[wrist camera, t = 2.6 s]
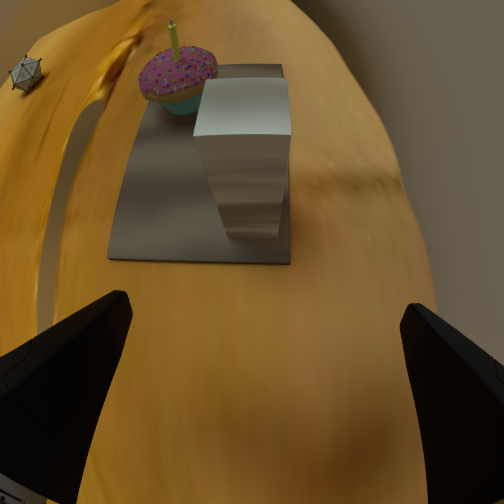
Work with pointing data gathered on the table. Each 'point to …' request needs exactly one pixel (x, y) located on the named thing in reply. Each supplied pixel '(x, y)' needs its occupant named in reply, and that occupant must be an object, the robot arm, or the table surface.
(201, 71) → the cupcake
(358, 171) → the table surface
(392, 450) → the table surface
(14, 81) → the game die
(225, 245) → the gray board with column
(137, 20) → the table surface
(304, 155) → the table surface
